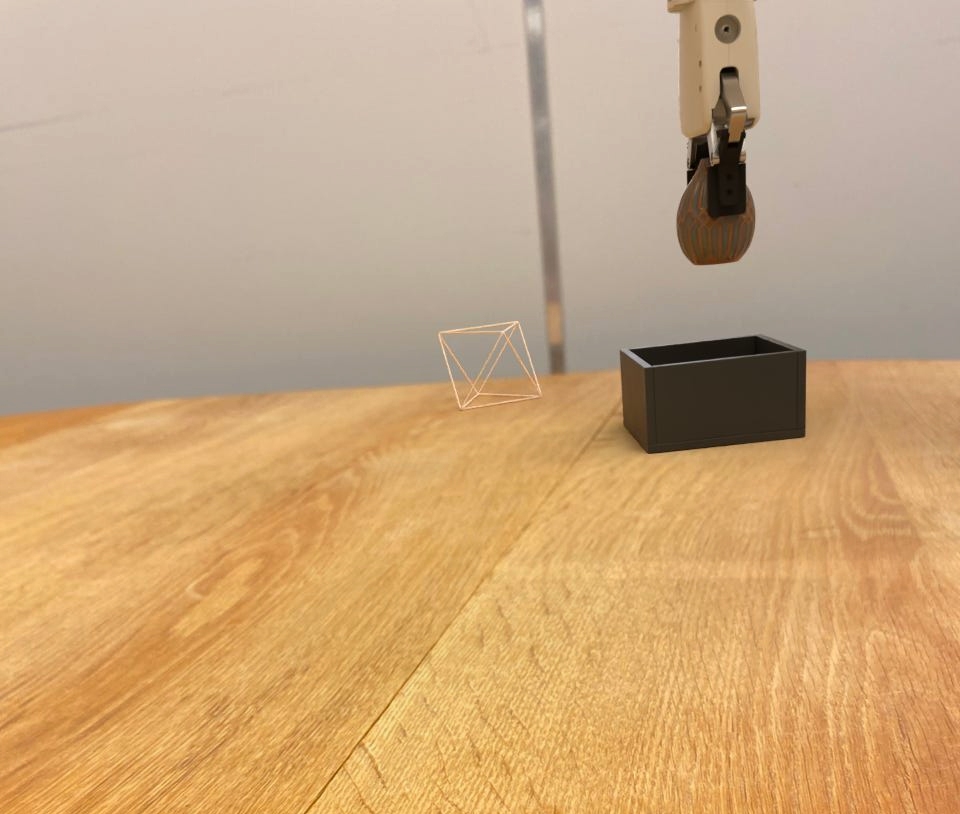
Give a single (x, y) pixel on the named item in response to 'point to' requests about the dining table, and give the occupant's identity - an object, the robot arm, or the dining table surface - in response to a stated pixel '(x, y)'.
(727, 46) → the robot arm
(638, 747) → the dining table surface
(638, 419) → the bin
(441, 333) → the geometric polyhedron
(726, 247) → the vase
